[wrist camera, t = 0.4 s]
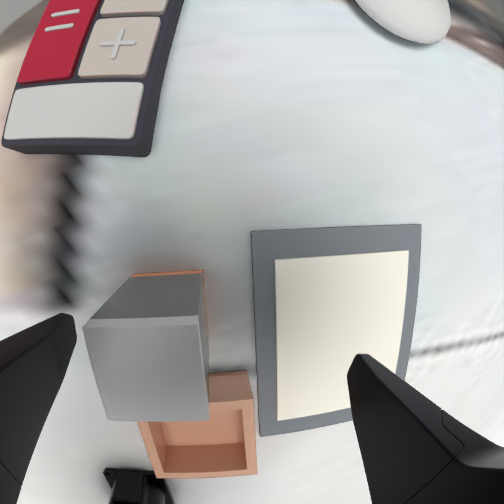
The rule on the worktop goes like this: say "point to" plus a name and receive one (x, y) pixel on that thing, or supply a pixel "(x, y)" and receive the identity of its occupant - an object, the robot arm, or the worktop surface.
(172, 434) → the copper square tube
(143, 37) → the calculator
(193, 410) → the grey square block
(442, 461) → the robot arm
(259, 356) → the writing mat
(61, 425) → the worktop surface
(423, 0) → the flower in vase
